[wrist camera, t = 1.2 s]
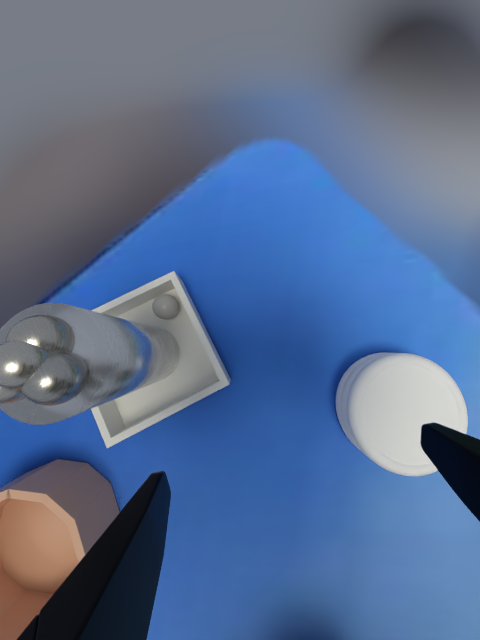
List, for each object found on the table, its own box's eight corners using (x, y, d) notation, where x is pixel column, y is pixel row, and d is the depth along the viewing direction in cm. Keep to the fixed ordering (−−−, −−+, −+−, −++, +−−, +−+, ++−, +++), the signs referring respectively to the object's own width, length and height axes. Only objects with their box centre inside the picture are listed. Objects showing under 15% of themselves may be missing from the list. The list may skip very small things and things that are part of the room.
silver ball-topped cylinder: (175, 385, 21) (53, 454, 7) (121, 378, 21) (-101, 434, 7) (183, 331, 22) (86, 300, 8) (131, 324, 22) (-56, 283, 8)
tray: (230, 379, 22) (229, 384, 19) (125, 434, 21) (106, 448, 18) (182, 280, 23) (173, 270, 20) (81, 329, 22) (57, 326, 19)
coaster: (399, 335, 23) (428, 332, 19) (455, 426, 22) (496, 441, 18) (314, 381, 22) (328, 387, 19) (367, 477, 21) (392, 503, 18)
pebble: (179, 322, 22) (172, 319, 20) (155, 319, 22) (145, 316, 20) (183, 298, 22) (177, 292, 20) (159, 295, 22) (150, 289, 20)
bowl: (105, 598, 19) (66, 672, 15) (-14, 581, 20) (-88, 650, 15) (128, 468, 21) (98, 500, 16) (16, 453, 21) (-44, 481, 16)
